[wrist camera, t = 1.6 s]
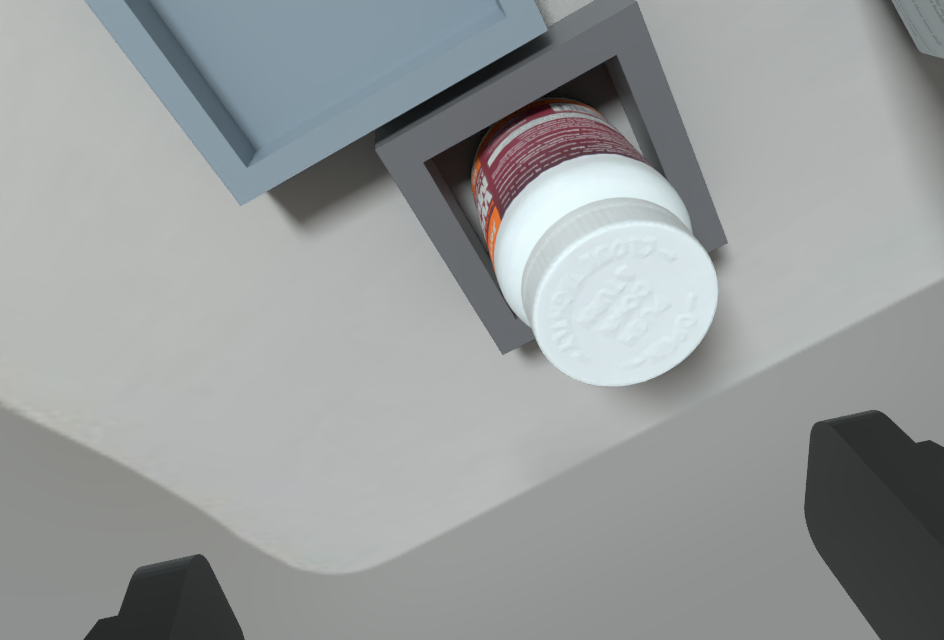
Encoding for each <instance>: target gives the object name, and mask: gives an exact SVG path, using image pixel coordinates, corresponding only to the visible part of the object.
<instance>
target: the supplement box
mask: <svg viewBox="0 0 944 640" xmlns="http://www.w3.org/2000/svg"><path fill="white" fill-rule="evenodd" d="M891 1H892V2H893V4H894V6H895V8H896V10H897V12H898V14H899V15H900V17H901V19H902V21H903V23H904V25H905V26H906V28H907V30H908V32H909V34H910V36H911V37H912V39H913V41H914V43H915V45H916V47H917V49H918V50H919V51H920V52H921V53H923V54H927V55H931V56H935V57H938V58H942V59H944V0H891Z"/></svg>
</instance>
